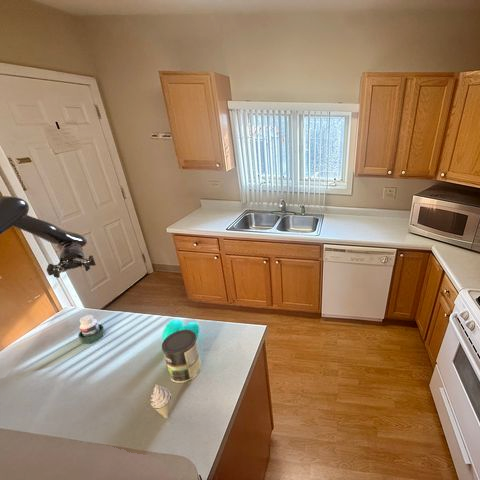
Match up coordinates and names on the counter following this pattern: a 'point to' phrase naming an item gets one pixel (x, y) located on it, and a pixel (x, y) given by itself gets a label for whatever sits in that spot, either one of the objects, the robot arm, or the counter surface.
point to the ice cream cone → (161, 400)
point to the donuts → (179, 328)
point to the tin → (92, 338)
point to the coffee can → (182, 355)
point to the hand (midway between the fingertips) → (72, 272)
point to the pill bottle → (89, 326)
